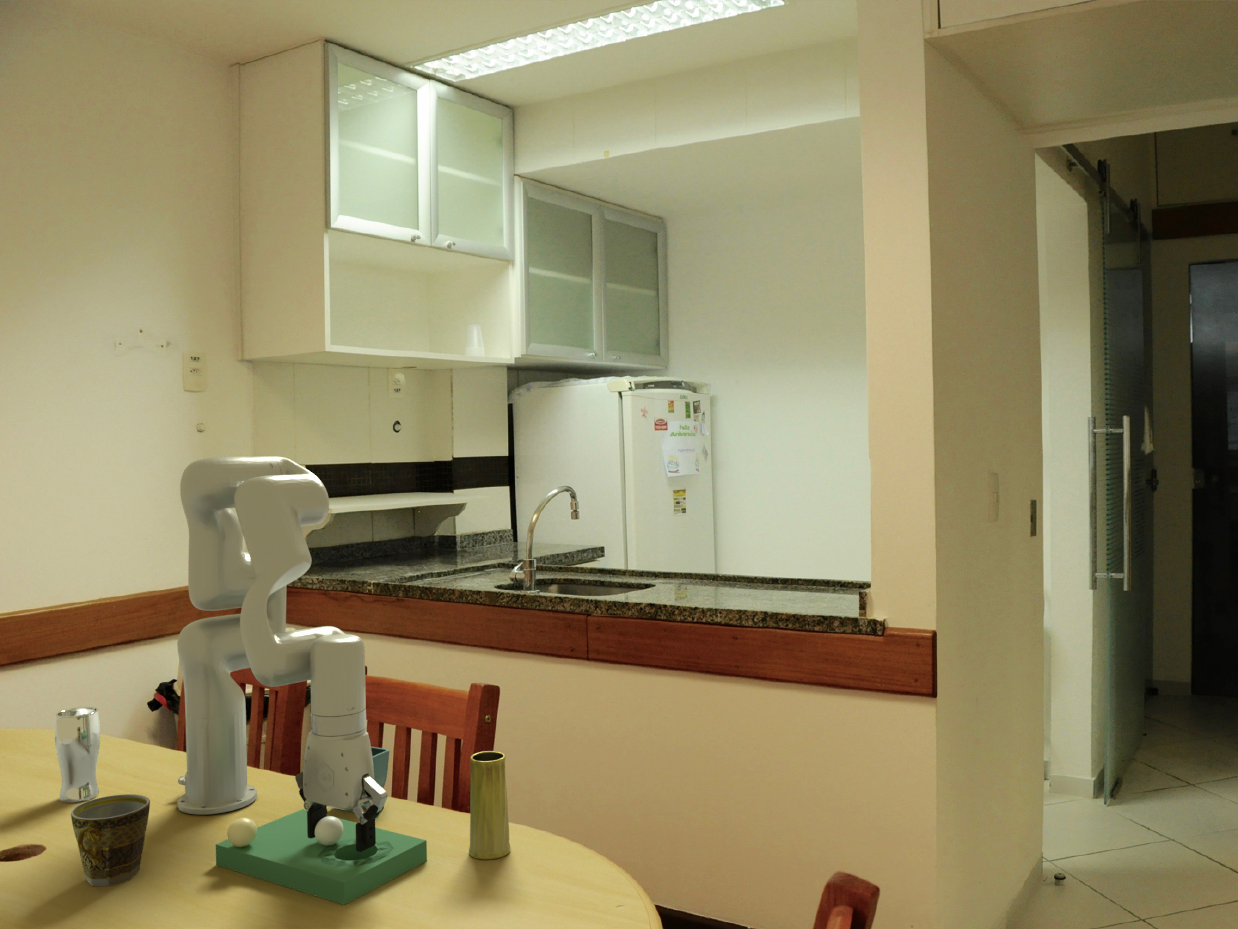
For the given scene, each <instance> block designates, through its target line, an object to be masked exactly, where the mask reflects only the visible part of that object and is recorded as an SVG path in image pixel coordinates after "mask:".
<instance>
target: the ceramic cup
mask: <svg viewBox="0 0 1238 929" xmlns="http://www.w3.org/2000/svg"><path fill="white" fill-rule="evenodd" d="M150 805H151V800H150V798H149V797H147V796H146V795H145V796H144V795H140V794H133V793H132V794H130V793H128V794H127V793H126V794H115V795H114V794H113V795H109V796H101V797H99V798H93V799H90V800H87V801H84V802H83V803H81V804H79V805H77V806H76V807H74V808H73V809H72V810H71V813H70V818H71V823H72V828H73V832H74V836H75V839H76V843H77V847H78V852H79V855H80V861H81V865H82V868H83V874H84V878H85V880H86V882H88V883H89V885H91V886H92V887H111V886H115V885H117V884H121V883H125V882H127V881H130V880H132V879H133V877H135V876H136V875H137V874H138V873H139V871H140V869H141V865H142V857H143V850H144V845H145V844H144V843H145V836H146V831H147V828H148V823H149V816H150V815H149V814H150V808H151V806H150Z"/></svg>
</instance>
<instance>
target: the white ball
mask: <svg viewBox="0 0 1238 929" xmlns="http://www.w3.org/2000/svg"><path fill="white" fill-rule="evenodd" d="M338 818H339V817H337V816H332V815H327V817H324V818H322V819H321V820H320V821H319V822H318V823H317V825H316V827H315V837H316V839H317V841H318V842H319V843H320V844H322V845H326V846H330V845H333V844H335V843H337V842H338V841H339V840H340V839H341V837H342V835H343V824H342V822H341V821H340V820H339V819H340V818H339V819H338Z"/></svg>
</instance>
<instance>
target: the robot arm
mask: <svg viewBox="0 0 1238 929" xmlns="http://www.w3.org/2000/svg"><path fill="white" fill-rule="evenodd" d="M179 488H180V489H179V491H180V493H179V494H180V499H181V500H180V502H181V505H182V508H183V511H184V514H185V519H186V522H187V526H188V527H187V528H188V562H187V563H188V566H187V567H188V568H187V570H188V573H187V574H188V575H187V582H188V584H187V585H188V586H187V587H188V596H189V600H190V603H191V604H192V605H193V607H195V608H196V609H198V610H200V611H207V612H209V611H211V612H212V611H223V610H225V611H226V610H231V609H239V608H240V609H241V611H240V613H236V614H226V615H218V616H213V617H212V616H211V617H205V618H201V619H198V620H195V621H191V622H190V623H189V624H187V625H186V626H184V627H183V628H182V630H181V631H180V632H179V634H178V637H177V643H176V645H177V653H178V654H177V655H178V659H179V663H180V668H181V673H182V680H183V690H184V707H185V711H184V712H185V715H184V716H185V746H186V747H185V748H186V749H185V750H186V772H185V774H184V776H183V775H182V776H180V777H179V778H178V779H177V783H178V784H179V785H180V786H181V785H182V786H184V790H185V791H184V792H185V793H184V794H182V795H181V796H180V797H179V798H178V800H177V809H178V811H180V812H182V813H185V814H190V815H199V816H200V815H203V816H204V815H217V814H223V813H227V812H232V811H236V810H239V809H242V808H244V807H247V806H249V805H250V804H252V803H254V801H255V800H257V797H258V790H257V788H256V787H254V786H253V785H250V784H248V764H247V763H248V759H247V756H248V755H247V752H248V749H247V714H246V713H247V710H246V698H245V694H244V690H243V689H242V688H241V687H240V685H238V682H237V683H236V681H235V680H234V679H233V677H232V676H231V673H232V672H236V671H239V670H245V669H246V670H247V669H251V670H250V671H251V672H252V675H253V676H254V678H255V679H256V681H257V682H259V683H260V684H261V685H263V686H265V687H272V688H273V687H276V688H277V687H280V686H281V687H282V686H287V685H290V684H291V685H292V684H296V683H301V682H302V683H303V682H306V681H310V711H311V712H310V714H309V718H310V721H311V725H310V726H311V730H310V731H308V734H307V736H306V737H307V738H306V742H305V749H304V756H303V770H302V771H301V772H299V773H298V774H296V775H295V779H294V780H295V781H296V785H297V787H298V789H299V790H298V794H299V796H300V798H301V799H302V801H303V802H304V803H303V808H304V809H303V810H307V835H308V838H311V839H312V838H314V837H315V827H316V825H317V823H318V822H319V821H320V820H321V819H322V818H324V817H327V816H328V808H327V807H330V808H333V809H336V808H337V809H336V810H343V811H347V810H350V809H353V811H354V812H353V814H354V815H355V816H356V818H357V821H358V822H355V823H356V850H357V851H358V852H362V851H364V850H366V849H368V848H370V847H373V846H374V845H375V843H376V831H375V828H376V819H378V818H379V816H380V814H381V813H382V812H383V811H384V809H385V803H386V802H387V799H388V796H389V795H388V792H387V791H386V790H385V789H384V788H382V787H381V786H380V785H378V784H377V783H376V782H375V781H374V769H373V758H372V751H371V747H372V746H371V740H370V736H369V732H367V709H366V704H367V703H366V701H367V699H366V695H367V694H366V656H365V654H366V653H365V652H366V650H365V648H366V647H365V643H364V640H363V639H362V637H360V636H358V635H356V634H349V633H345V632H344V631H343V630H341V628H337V627H336V626H331V625H325V626H324V625H322V626H317V627H310V628H303V629H294V630H289V631H286V628H287V626H286V624H287V586H288V585H290V584H291V583H292V582H294V581H296V580H298V579H299V578H301V577H302V576H303V575H304V574H306V573H307V571H308V570H309V569H310V568H311V565H312V555H311V553H310V550H309V547H308V543H307V541H306V538H305V534H304V531H303V529H302V527H309V526H310V527H311V526H316V525H320V524H322V523H323V522H324V521H325V520H326V518H327V517H328V514H329V511H330V498H329V494H328V491H327V488H326V487H325V485H324V483H323V482H322V480H320V478H319V477H318V476H317V475H315V473H313V472H311V471H310V470H309V469H307V468H305V467H304V466H302V465H300V464H298V463H297V462H295V461H294V460H292V459H290V458H288V457H283V456H277V455H275V456H274V455H273V456H272V455H270V456H269V455H268V456H267V455H266V456H264V455H263V456H262V455H261V456H218V457H217V456H215V457H207V458H202V459H201V458H200V459H197V460H194V461H192V462H191V463H190V464H188V465H187V466H186V467H185V469H184V470H183V473H182V475H181V479H180V485H179ZM233 509H235V512H234V511H233ZM244 541H245V545H246V549H247V551H244V547H243V546H244V544H243V543H244ZM372 799H373V801H372ZM362 805H365V807H366V808H365V809H366V810H365V811H364V809H362V807H361V806H362Z"/></svg>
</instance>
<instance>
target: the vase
mask: <svg viewBox="0 0 1238 929" xmlns="http://www.w3.org/2000/svg"><path fill="white" fill-rule="evenodd" d="M469 765H470V766H469V767H470V770H469V771H470V804H469V805H470V806H469V807H470V809H469V810H470V812H469V814H470V816H469V817H470V818H469V819H470V820H469V822H470V823H469V846H468V853H469V855H470V857H473V858H474V859H477V860H483V861H485V860H487V861H489V860H497V859H500V858H503V857H505V856H507V855H508V854H510V851H511V844H510V826H509V825H510V824H509V814H508V813H509V811H508V810H509V808H508V792H507V778H506V754H505V753H504V752H501V751H496V750H487V751H485V750H483V751H480V752H479V751H478V752H476V753H473V754H472V755H470V764H469Z"/></svg>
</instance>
